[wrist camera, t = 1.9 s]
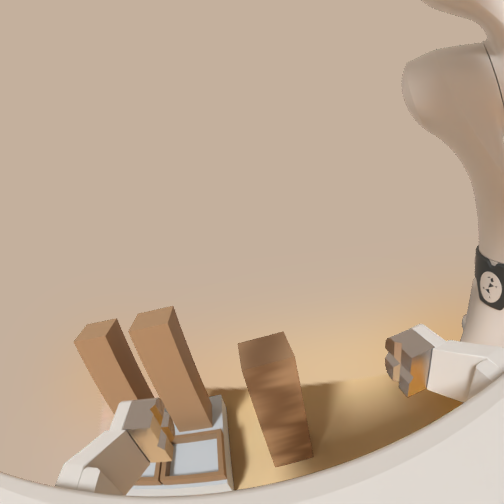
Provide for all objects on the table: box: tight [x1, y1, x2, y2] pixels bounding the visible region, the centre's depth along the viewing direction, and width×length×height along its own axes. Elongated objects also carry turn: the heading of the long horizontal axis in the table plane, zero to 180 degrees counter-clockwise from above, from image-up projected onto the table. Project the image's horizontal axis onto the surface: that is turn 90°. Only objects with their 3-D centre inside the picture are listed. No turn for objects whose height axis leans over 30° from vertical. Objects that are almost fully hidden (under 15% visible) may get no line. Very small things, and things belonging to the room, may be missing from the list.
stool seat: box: [74, 306, 234, 496], centre depth 26 cm, size 13×14×16 cm
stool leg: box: [238, 332, 313, 467], centre depth 24 cm, size 4×4×14 cm
